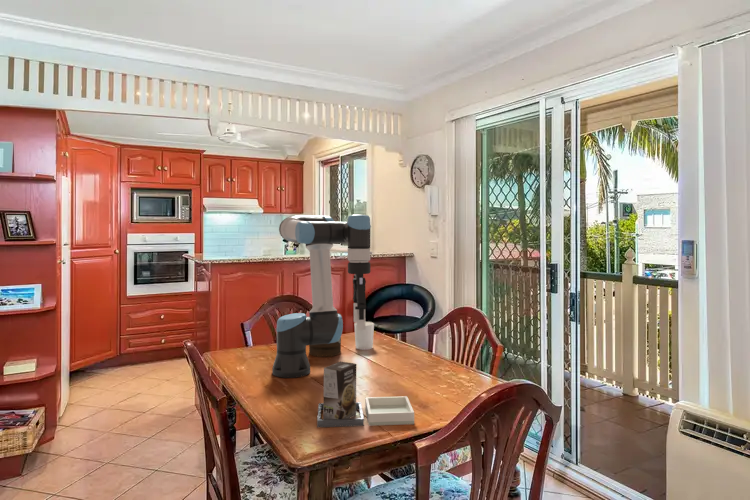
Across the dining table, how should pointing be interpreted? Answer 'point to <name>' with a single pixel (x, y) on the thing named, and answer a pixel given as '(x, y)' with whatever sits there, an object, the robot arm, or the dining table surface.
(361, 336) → the candle holder
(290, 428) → the dining table surface
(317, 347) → the wooden container
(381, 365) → the dining table surface
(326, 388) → the coffee box
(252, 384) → the dining table surface
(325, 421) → the socket collar
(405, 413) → the tray
